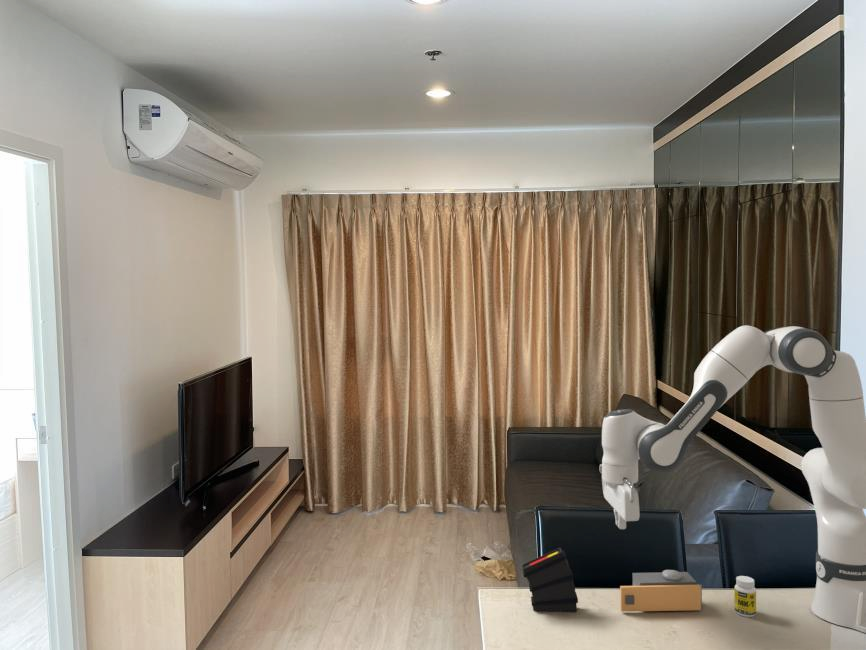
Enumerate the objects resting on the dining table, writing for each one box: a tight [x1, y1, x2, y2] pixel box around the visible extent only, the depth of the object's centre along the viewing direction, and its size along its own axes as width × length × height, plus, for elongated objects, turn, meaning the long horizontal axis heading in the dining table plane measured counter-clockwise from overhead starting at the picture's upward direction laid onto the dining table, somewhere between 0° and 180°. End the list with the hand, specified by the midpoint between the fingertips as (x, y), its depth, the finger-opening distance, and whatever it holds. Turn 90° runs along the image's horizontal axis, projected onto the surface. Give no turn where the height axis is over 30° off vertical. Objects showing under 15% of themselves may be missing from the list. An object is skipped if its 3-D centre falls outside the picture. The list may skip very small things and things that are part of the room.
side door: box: [619, 584, 703, 613], centre depth 158 cm, size 20×1×6 cm, turn 90°
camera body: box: [632, 569, 698, 586], centre depth 162 cm, size 14×6×8 cm, turn 90°
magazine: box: [521, 547, 579, 613], centre depth 161 cm, size 4×13×15 cm, turn 84°
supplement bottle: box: [733, 575, 757, 618], centre depth 157 cm, size 5×5×8 cm
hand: (620, 527), depth 165 cm, fingers closed
